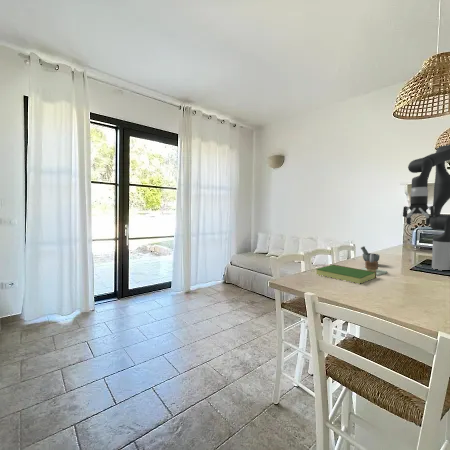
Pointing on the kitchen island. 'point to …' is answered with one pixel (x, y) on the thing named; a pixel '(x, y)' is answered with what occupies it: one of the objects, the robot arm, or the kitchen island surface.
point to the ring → (371, 265)
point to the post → (378, 272)
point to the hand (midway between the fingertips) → (417, 224)
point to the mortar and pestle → (367, 255)
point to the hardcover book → (346, 273)
